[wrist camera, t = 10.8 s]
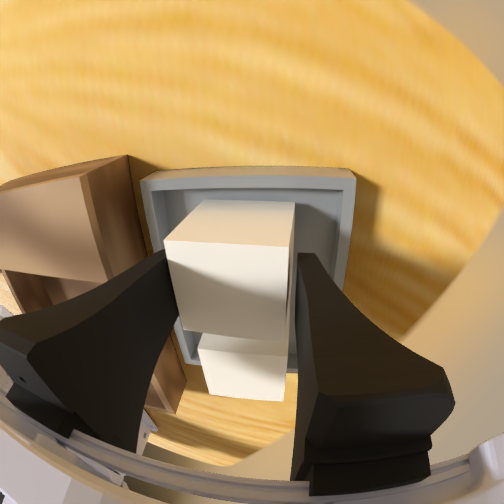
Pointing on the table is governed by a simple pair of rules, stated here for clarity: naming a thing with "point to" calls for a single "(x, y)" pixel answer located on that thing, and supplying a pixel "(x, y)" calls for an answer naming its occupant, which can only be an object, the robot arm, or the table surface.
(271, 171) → the slate dish
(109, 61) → the table surface
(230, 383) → the cube
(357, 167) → the table surface
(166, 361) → the walnut box
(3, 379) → the french press
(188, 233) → the cube
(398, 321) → the table surface
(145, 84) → the table surface
